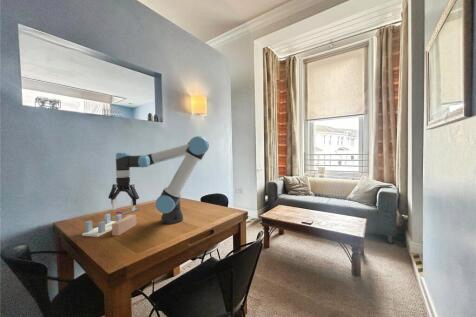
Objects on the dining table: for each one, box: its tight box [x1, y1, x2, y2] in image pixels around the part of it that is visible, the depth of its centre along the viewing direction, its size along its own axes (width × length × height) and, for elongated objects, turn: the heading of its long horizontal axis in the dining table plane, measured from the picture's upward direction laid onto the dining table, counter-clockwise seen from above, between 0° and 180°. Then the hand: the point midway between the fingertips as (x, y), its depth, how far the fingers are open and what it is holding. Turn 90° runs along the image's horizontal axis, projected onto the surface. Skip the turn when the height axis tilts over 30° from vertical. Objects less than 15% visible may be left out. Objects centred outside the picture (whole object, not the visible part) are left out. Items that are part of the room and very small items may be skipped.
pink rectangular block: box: [111, 214, 137, 237], centre depth 129 cm, size 4×18×7 cm, turn 175°
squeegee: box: [110, 207, 140, 219], centre depth 163 cm, size 29×2×10 cm
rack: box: [81, 213, 123, 238], centre depth 130 cm, size 11×22×7 cm, turn 170°
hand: (123, 209), depth 128 cm, fingers open, 13 cm apart
